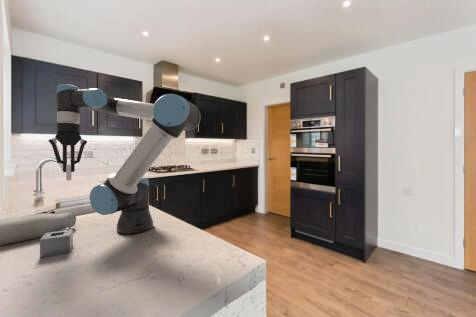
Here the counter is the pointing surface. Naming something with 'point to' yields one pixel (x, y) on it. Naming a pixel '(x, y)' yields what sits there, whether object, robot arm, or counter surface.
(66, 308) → the counter surface
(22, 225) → the grey cylindrical pipe
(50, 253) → the collar
